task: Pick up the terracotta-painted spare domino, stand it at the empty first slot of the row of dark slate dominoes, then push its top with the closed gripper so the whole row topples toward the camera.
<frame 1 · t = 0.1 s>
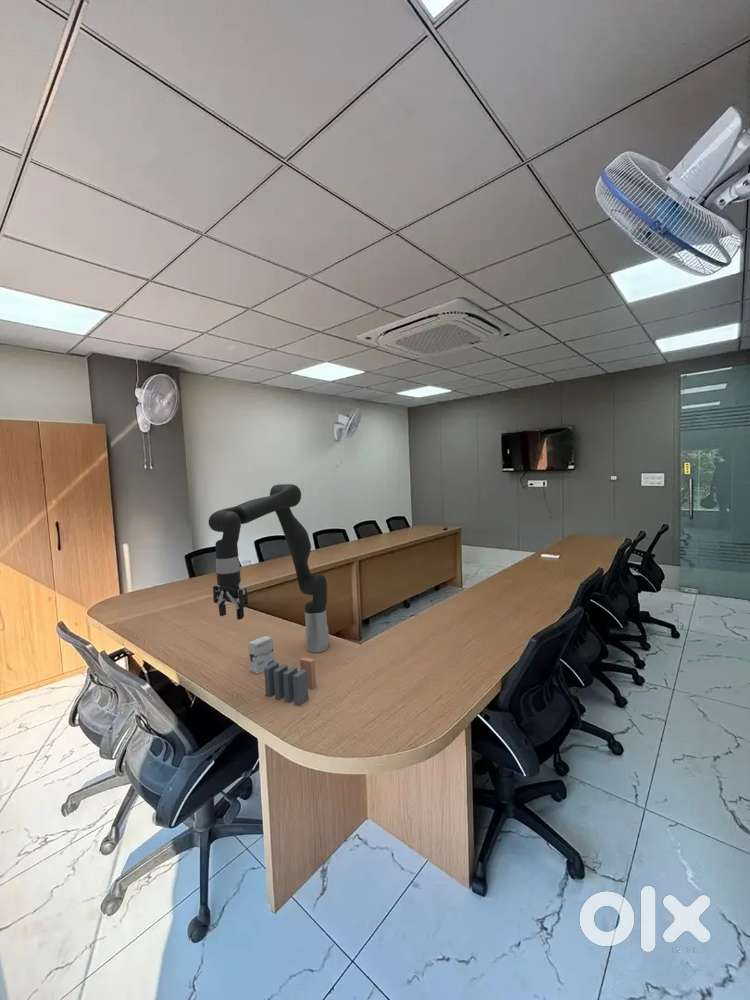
hand: (231, 617, 138), 29 cm above the table, fingers open, 8 cm apart
domino 5: (301, 701, 138), on the table
domino 3: (282, 695, 142), on the table
domino 2: (273, 693, 144), on the table
domino 4: (291, 698, 140), on the table
domino 1: (308, 686, 147), on the table
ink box: (262, 669, 163), on the table
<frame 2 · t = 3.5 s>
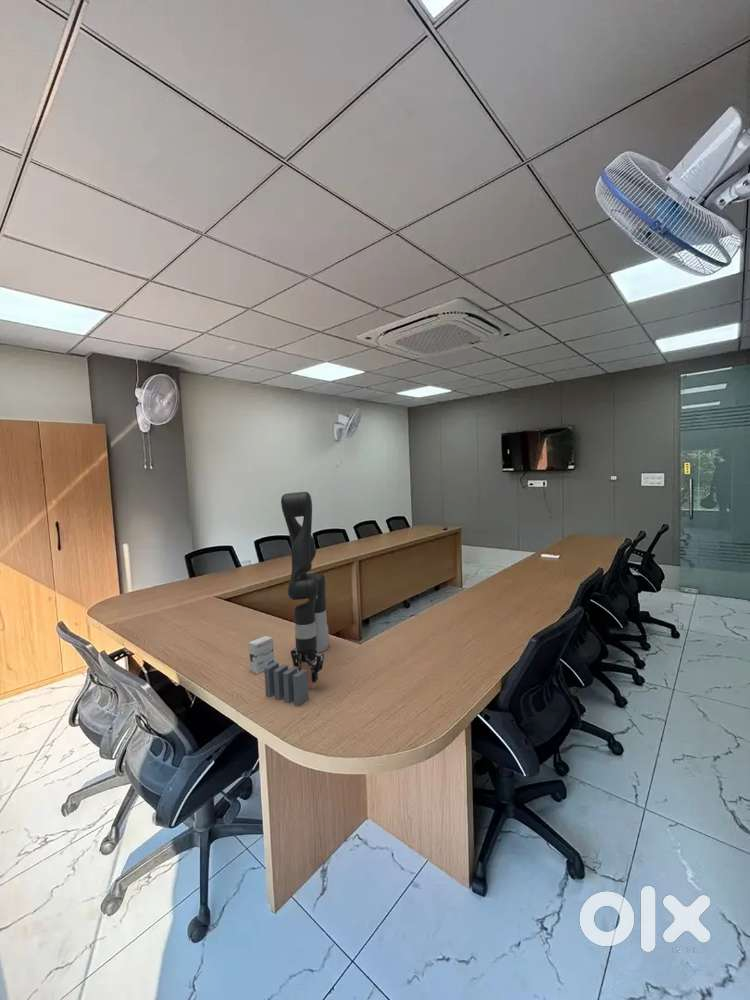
hand: (308, 679, 147), 2 cm above the table, fingers closed on domino 1, 5 cm apart
domino 1: (308, 686, 147), on the table, touching gripper
everything else where it was.
when the fingers open (3 cm above the table, at t = 8.5 s): domino 1 stays where it is, on the table.
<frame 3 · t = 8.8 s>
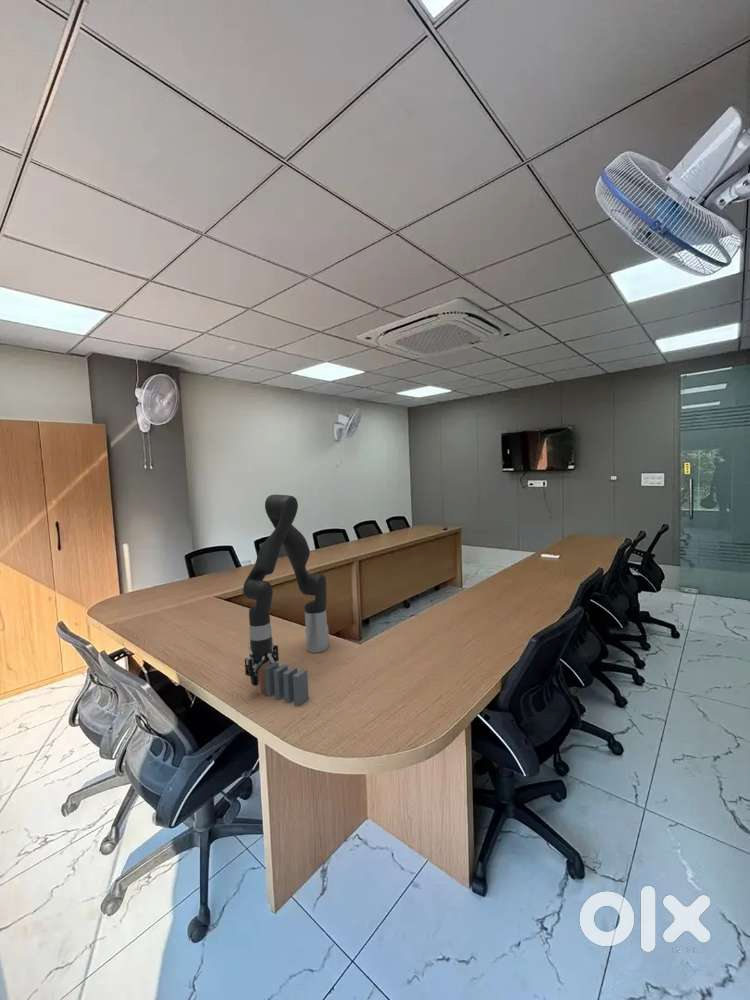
hand: (263, 680, 146), 4 cm above the table, fingers open, 7 cm apart
domino 1: (264, 690, 146), on the table
everything else where it was.
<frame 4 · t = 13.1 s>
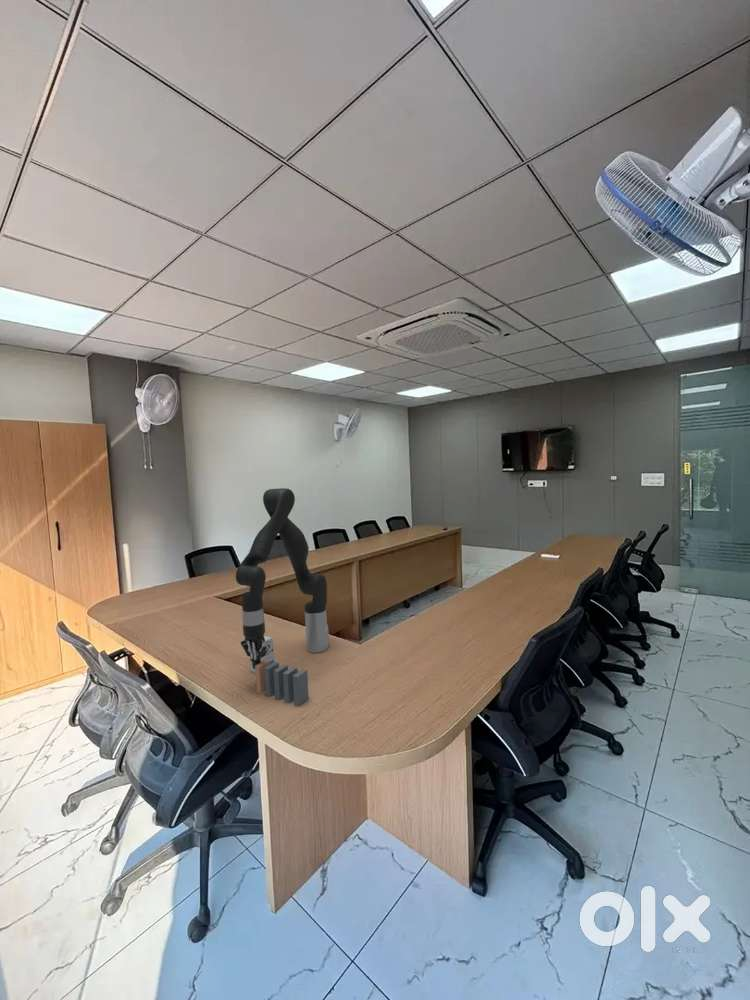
hand: (256, 668, 147), 8 cm above the table, fingers closed
domino 1: (264, 690, 146), on the table, touching gripper
everything else where it was.
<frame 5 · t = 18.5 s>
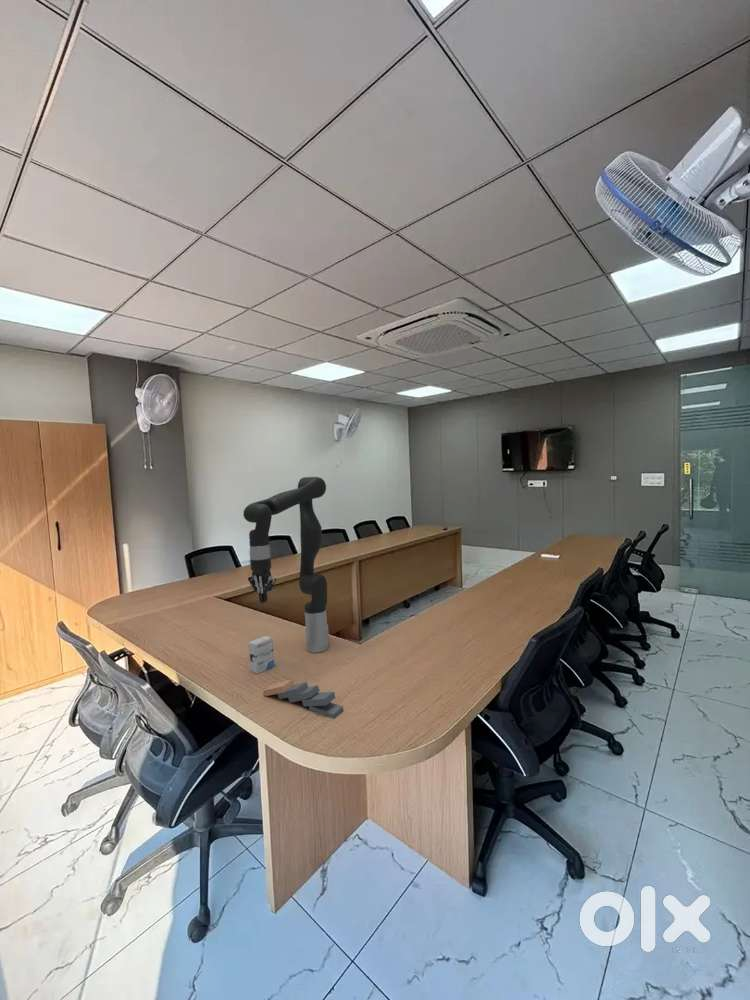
hand: (263, 602, 154), 29 cm above the table, fingers closed
domino 5: (314, 704, 135), on the table, tilted 90°, touching domino 4
domino 3: (294, 696, 139), point 1 cm above the table, tilted 66°, touching domino 2, domino 4
domino 2: (283, 693, 142), point 1 cm above the table, tilted 66°, touching domino 1, domino 3
domino 4: (307, 699, 136), point 2 cm above the table, tilted 73°, touching domino 3, domino 5
domino 1: (269, 690, 144), point 1 cm above the table, tilted 69°, touching domino 2
everything else where it was.
at the end: domino 5 tilted 90°; domino 1 inside the target area (0.6 cm from its centre), point 0.9 cm above the table; the gripper is holding nothing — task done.
